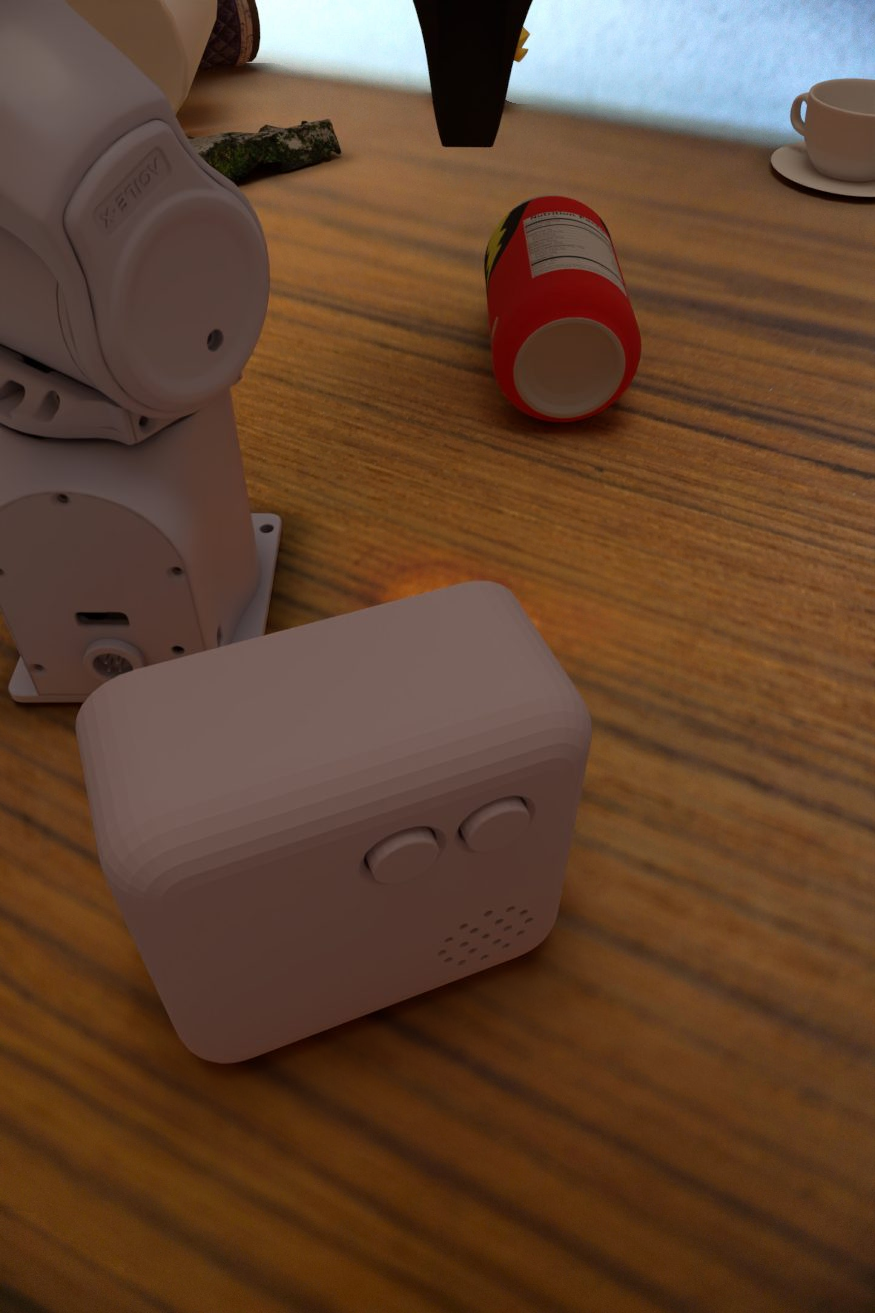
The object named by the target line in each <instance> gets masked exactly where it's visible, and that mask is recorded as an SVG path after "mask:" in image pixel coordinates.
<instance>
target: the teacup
mask: <svg viewBox="0 0 875 1313" xmlns="http://www.w3.org/2000/svg"><path fill="white" fill-rule="evenodd" d="M803 103H805V104H806V108H805V114H804V115H805V116H804V120H803V117H802V106H803ZM789 120H790V124H791V126H792V128H793V130H794V131H795V132H797V133H798V134H799V135H800V136H802V137H803V139H804V140H801V141H796V142H792V143H788V144H786V145H783V146H781V147H779V148H778V149H776V150H775V151H774V152H772V154H771V156H770V162H771V165H772V167H773V169H775V170H776V171H777V172H778V173H779V174H781V175H782V176H783V177H785V178H787V179H789V180H791V181H793V182H795V183H797V184H799V185H802V186H805V187H808V188H810V189H814V190H818V191H822V192H826V193H831V194H836V195H842V196H843V195H844V196H851V197H863V198H864V197H865V198H875V79H873V78H857V77H856V78H853V77H851V78H849V77H848V78H846V77H845V78H834V79H828V80H823V81H819V82H817V83H815V84H814V85H812V86H811V87H810V89H809V90H808V91H807V92H802V93H801V94H799V95H797V96H796V97H795V98H794V100H793V102H792V104H791V108H790V111H789Z"/></svg>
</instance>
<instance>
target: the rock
mask: <svg viewBox="0 0 875 1313" xmlns="http://www.w3.org/2000/svg"><path fill="white" fill-rule="evenodd" d="M186 137H187V138H188V140H189V142H190V143H191V145H192V146H193V147H194V149H195V150H196V151H197V153H198V154H199V155H200V156H201V157H202V158H203V159H204V160H205V161H206V162H207V163H208V164H209V165H210V166H211V167H212V168H214V169H215V170H217V171H218V172H219V173H221V174H222V175H224V176H225V177H226V178H228V179H229V180H230V181H232V182H233V183H234V184H236V183H237V181H240V178H242V180H244V181H245V179H244V178H246V177H247V176H248V175H250V173H251V172H252V171H254V168H256V169H257V168H258V169H259V167H260V168H261V167H262V165H266V164H267V163H269V164H270V165H272V164H273V163H274V162H275V163H279V164H278V168H280V170H281V171H282V172H290V171H292V170H294V169H298V168H301V167H304V166H305V165H309V164H312V163H318V162H319V161H320V160H321V159H323V160H324V161H326V159H325V158H323V156H325V157H327V158H329V159H330V158H331V157H332V158H334V157H336V155H341V154H342V150H341V147H340V142H339V140H338V136H337V134H336V132H335V129H334V126H333V123H332V121H331V119H330V118H325V119H321V120H318V119H317V120H314V121H307V120H301V121H300V124H297V125H293V126H290V127H285V128H284V127H277V126H273V125H270V124H264V125H263V126H261V127H260V128H259V130H258V132H256V133H255V132H242V131H228V132H216V133H214V134H211V135H208V136H189V135H186ZM332 153H335V154H336V155H335V154H333V155H332ZM260 164H261V165H260ZM270 165H268V166H265V167H266V169H267V168H269V166H270Z"/></svg>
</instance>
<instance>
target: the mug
mask: <svg viewBox="0 0 875 1313" xmlns="http://www.w3.org/2000/svg"><path fill="white" fill-rule="evenodd" d="M260 45H261V21H260V14H259V9H258V6H257V2H256V0H217V16H216V21H215V23H214V26H213V29H212V31H211V34H210V37H209V39H208V42H207V45H206V47H205V50H204V53H203V55H202V58H201V61H200V63H199V66H198V69H197V71H196V73H197V72H203V71H210V70H216V69H221V68H225V67H226V68H233V67H241V66H245V65H246V64H247V63H252V62H254V61H255V59H256V58H257V56H258V53H259V50H260V47H261V46H260Z"/></svg>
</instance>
